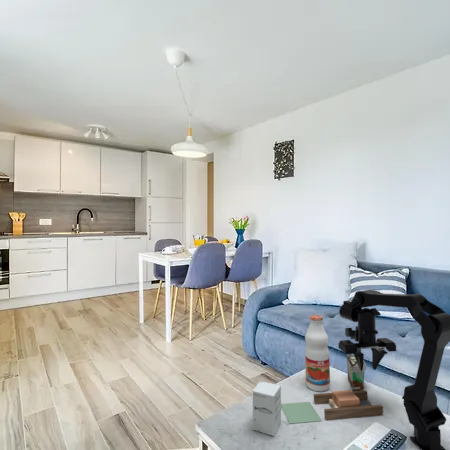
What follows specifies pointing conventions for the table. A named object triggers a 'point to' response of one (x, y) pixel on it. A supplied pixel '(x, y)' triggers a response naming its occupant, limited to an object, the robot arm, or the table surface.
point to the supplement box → (267, 408)
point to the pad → (300, 412)
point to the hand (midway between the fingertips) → (367, 369)
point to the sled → (344, 399)
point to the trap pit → (364, 403)
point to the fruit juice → (317, 356)
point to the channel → (348, 411)
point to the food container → (355, 373)
